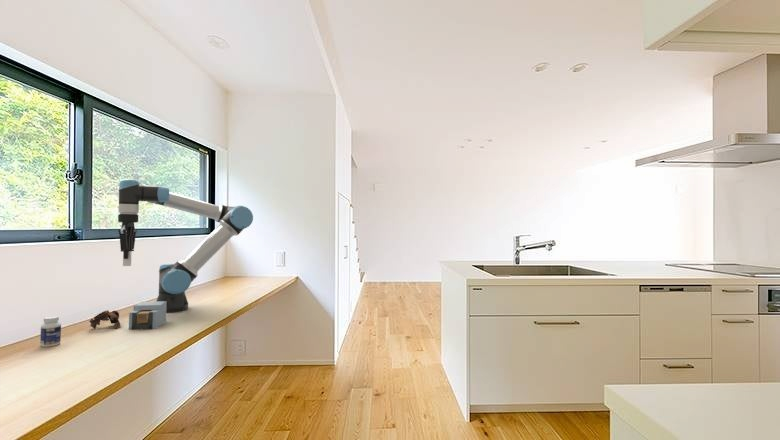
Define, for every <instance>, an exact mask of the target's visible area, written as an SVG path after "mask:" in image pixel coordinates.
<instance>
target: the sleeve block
mask: <svg viewBox="0 0 780 440" xmlns="http://www.w3.org/2000/svg"><path fill="white" fill-rule="evenodd" d="M166 307H167V301H141V302H138V303H137V304H134V305H133V310H132V311H129V313H128V330H131V331H137V330H139V331H141V330H156V329H158V328H159V327H161V326H162V325H163V324H164V323H166V322H167V312H166ZM143 310H152V311H151V312H149V323H137V314H138V313H139V312H141V311H143Z"/></svg>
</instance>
